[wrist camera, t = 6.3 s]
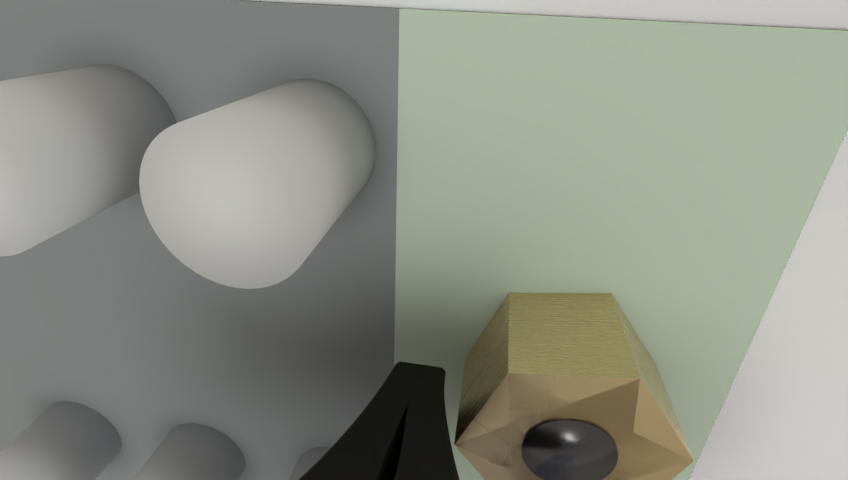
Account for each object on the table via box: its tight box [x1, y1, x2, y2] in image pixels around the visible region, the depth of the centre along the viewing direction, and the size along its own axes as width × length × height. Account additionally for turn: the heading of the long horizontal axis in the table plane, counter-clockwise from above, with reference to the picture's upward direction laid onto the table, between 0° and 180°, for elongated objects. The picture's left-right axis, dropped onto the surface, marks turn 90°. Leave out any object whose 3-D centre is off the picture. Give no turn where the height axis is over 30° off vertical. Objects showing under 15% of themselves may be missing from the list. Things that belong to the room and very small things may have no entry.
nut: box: [454, 292, 694, 480], centre depth 12 cm, size 4×5×3 cm
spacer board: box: [0, 0, 848, 480], centre depth 13 cm, size 18×26×4 cm
